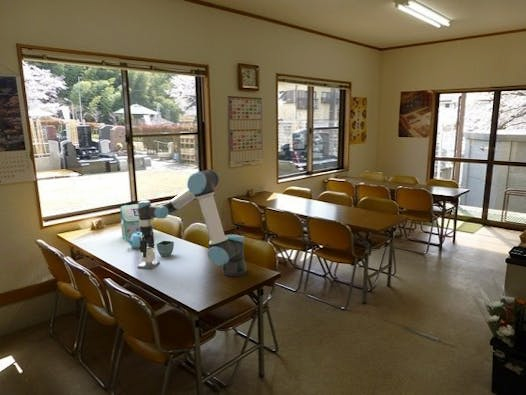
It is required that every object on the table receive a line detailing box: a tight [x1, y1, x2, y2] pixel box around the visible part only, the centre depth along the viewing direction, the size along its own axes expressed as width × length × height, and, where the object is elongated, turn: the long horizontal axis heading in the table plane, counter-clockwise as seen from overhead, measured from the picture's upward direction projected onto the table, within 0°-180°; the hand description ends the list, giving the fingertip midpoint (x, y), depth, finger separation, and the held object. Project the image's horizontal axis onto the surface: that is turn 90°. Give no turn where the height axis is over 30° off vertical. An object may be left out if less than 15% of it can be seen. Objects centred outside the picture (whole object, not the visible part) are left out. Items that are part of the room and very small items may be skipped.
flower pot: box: [156, 240, 175, 257], centre depth 266 cm, size 9×9×9 cm
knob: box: [140, 246, 156, 263], centre depth 246 cm, size 6×6×8 cm
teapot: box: [124, 232, 148, 250], centre depth 284 cm, size 15×14×11 cm
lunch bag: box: [119, 203, 154, 242], centre depth 306 cm, size 23×16×27 cm
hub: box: [137, 260, 161, 270], centre depth 247 cm, size 10×10×6 cm
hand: (148, 259), depth 247 cm, fingers closed on knob, 6 cm apart
